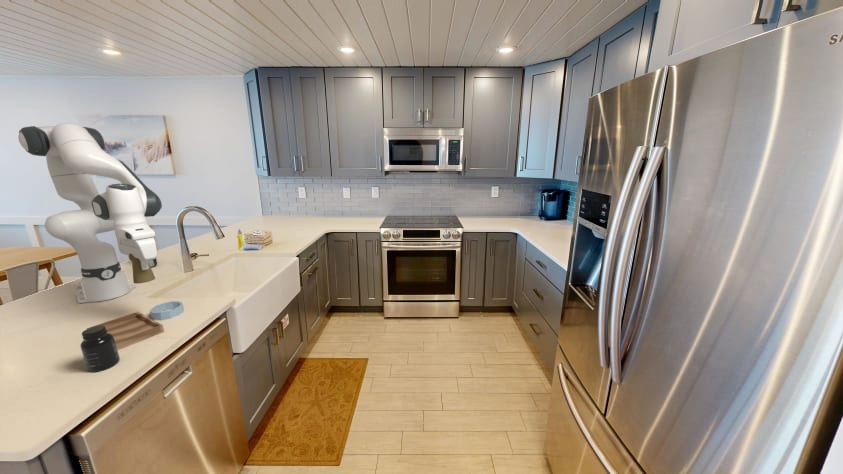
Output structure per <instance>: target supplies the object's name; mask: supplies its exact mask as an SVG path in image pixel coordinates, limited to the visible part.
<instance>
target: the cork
mask: <svg viewBox="0 0 843 474" xmlns="http://www.w3.org/2000/svg"><path fill="white" fill-rule="evenodd" d="M128 259H129V261H130V262H131V261H132V262H131V266H132V280H133V284H137V285H138V284H144V283H149V282H153V281H154V280H156V276H155V274H154V272H153V269H152V267H150V265H149V262H148V267H149V269H147V270H142V269H141V267H140V265H141V261H140V260H139V259H138V258H135V257H134V256H133V255H132V254H129V255H128Z"/></svg>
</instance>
